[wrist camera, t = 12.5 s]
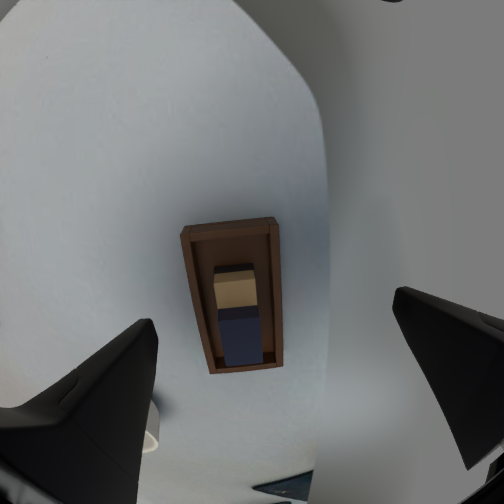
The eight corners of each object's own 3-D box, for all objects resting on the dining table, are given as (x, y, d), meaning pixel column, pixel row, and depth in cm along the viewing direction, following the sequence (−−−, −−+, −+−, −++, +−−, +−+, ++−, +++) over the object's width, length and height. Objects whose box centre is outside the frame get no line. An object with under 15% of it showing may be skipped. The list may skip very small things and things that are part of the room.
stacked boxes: (258, 330, 21) (264, 363, 18) (224, 333, 21) (224, 367, 18) (253, 262, 19) (259, 289, 16) (213, 266, 19) (210, 294, 15)
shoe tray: (273, 216, 19) (278, 224, 17) (279, 351, 23) (283, 366, 21) (184, 225, 18) (179, 234, 17) (210, 358, 23) (209, 374, 21)
